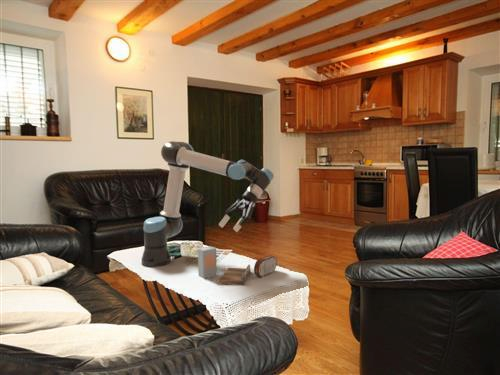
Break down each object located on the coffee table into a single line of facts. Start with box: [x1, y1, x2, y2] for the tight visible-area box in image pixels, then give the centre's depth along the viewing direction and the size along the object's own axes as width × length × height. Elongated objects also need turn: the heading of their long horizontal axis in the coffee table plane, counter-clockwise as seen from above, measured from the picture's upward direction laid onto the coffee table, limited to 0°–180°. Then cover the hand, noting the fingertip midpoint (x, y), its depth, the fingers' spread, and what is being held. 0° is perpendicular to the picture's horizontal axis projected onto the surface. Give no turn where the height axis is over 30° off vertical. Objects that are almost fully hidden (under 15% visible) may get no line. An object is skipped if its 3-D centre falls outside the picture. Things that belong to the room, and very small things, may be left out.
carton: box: [197, 245, 218, 279], centre depth 165 cm, size 5×7×13 cm
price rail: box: [241, 264, 251, 282], centre depth 162 cm, size 18×1×2 cm, turn 170°
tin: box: [253, 254, 278, 278], centre depth 166 cm, size 15×3×8 cm, turn 140°
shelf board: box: [218, 267, 251, 286], centre depth 163 cm, size 18×11×2 cm, turn 170°
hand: (227, 228), depth 170 cm, fingers open, 13 cm apart
